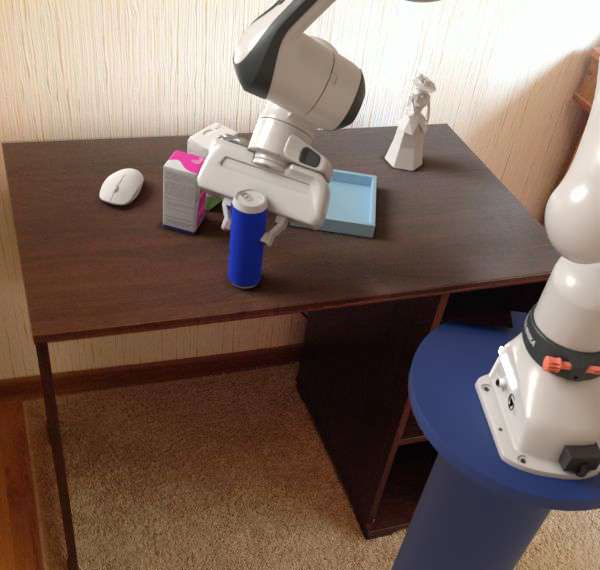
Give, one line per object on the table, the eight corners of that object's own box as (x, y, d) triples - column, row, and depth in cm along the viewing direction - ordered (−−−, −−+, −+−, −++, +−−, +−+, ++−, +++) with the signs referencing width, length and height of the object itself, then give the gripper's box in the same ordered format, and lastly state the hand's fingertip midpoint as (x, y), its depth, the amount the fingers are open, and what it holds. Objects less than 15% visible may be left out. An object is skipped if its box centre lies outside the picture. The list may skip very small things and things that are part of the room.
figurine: (399, 173, 147) (421, 83, 134) (378, 152, 152) (397, 63, 138) (429, 168, 150) (453, 79, 137) (407, 148, 154) (428, 60, 141)
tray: (372, 238, 131) (375, 226, 129) (289, 225, 131) (291, 213, 129) (374, 187, 142) (376, 175, 141) (298, 175, 142) (299, 163, 140)
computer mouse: (94, 202, 129) (92, 187, 126) (119, 174, 135) (118, 159, 133) (126, 211, 128) (125, 196, 126) (150, 183, 135) (150, 167, 132)
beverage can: (266, 282, 119) (275, 200, 109) (242, 294, 117) (248, 211, 106) (245, 265, 122) (252, 183, 111) (221, 277, 119) (225, 194, 108)
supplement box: (195, 235, 126) (196, 174, 117) (161, 227, 126) (160, 165, 118) (206, 217, 130) (208, 156, 121) (174, 209, 130) (173, 148, 122)
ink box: (208, 212, 131) (210, 149, 122) (185, 201, 132) (185, 138, 123) (236, 191, 136) (240, 130, 127) (214, 181, 137) (216, 120, 129)
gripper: (209, 121, 111) (177, 210, 112) (338, 163, 107) (303, 255, 108) (222, 137, 117) (191, 221, 118) (344, 177, 113) (311, 264, 114)
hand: (245, 238), depth 113 cm, fingers closed on beverage can, 5 cm apart
